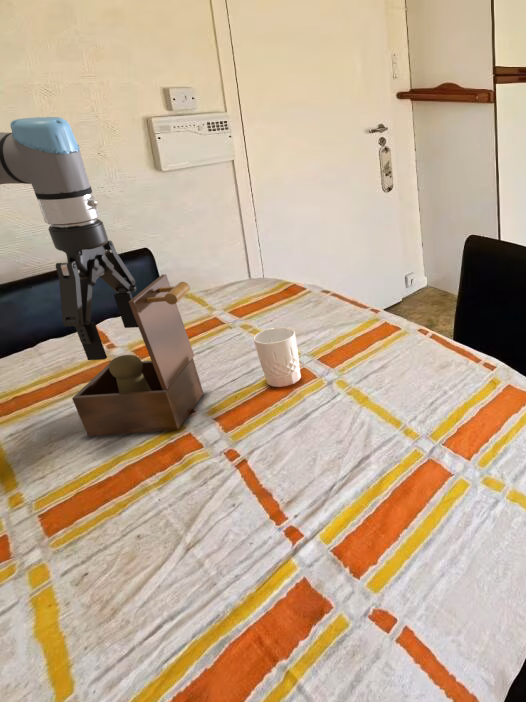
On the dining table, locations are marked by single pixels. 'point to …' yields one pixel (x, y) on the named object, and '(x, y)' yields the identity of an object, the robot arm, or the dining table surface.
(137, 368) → the cork
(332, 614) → the dining table surface
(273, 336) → the white cup
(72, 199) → the robot arm
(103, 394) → the chest
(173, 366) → the lid
